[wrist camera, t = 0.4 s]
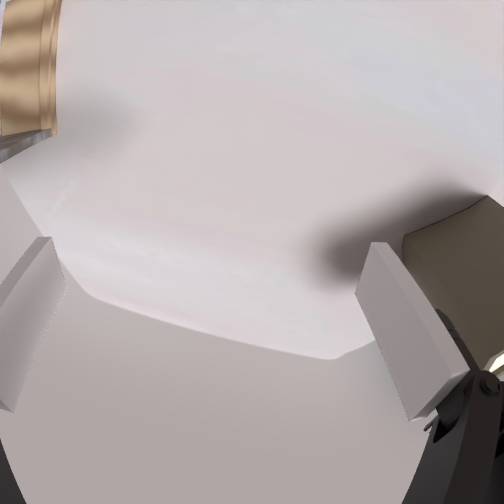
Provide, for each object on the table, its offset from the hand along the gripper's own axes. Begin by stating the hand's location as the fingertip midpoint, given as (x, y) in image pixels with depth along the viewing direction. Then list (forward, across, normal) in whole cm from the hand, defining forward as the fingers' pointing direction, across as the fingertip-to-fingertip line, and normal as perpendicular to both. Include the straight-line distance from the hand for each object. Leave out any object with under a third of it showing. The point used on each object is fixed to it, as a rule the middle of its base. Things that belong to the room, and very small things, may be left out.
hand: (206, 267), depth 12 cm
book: (+29, +41, -14) cm, 53 cm away
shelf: (+30, -28, +12) cm, 43 cm away
